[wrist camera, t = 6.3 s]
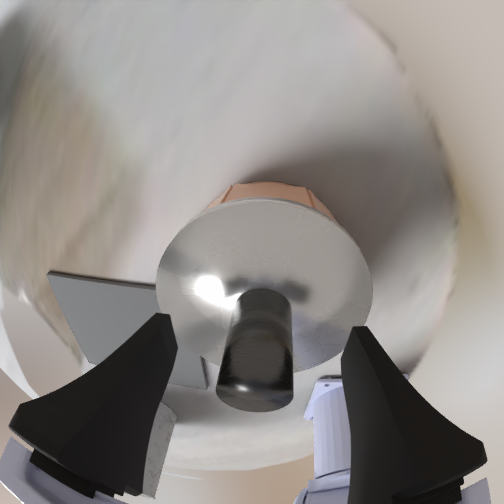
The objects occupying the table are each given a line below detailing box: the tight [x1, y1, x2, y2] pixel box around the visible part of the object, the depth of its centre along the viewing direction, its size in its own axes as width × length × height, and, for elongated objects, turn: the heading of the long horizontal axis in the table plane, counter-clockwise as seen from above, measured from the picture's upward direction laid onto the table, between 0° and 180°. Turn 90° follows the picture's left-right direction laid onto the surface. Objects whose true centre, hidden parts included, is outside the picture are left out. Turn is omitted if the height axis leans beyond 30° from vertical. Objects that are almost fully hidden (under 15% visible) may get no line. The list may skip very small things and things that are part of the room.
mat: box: [46, 272, 208, 390], centre depth 21 cm, size 14×12×1 cm
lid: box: [156, 197, 373, 412], centre depth 10 cm, size 10×10×5 cm
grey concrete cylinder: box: [140, 402, 177, 499], centre depth 23 cm, size 10×10×12 cm
